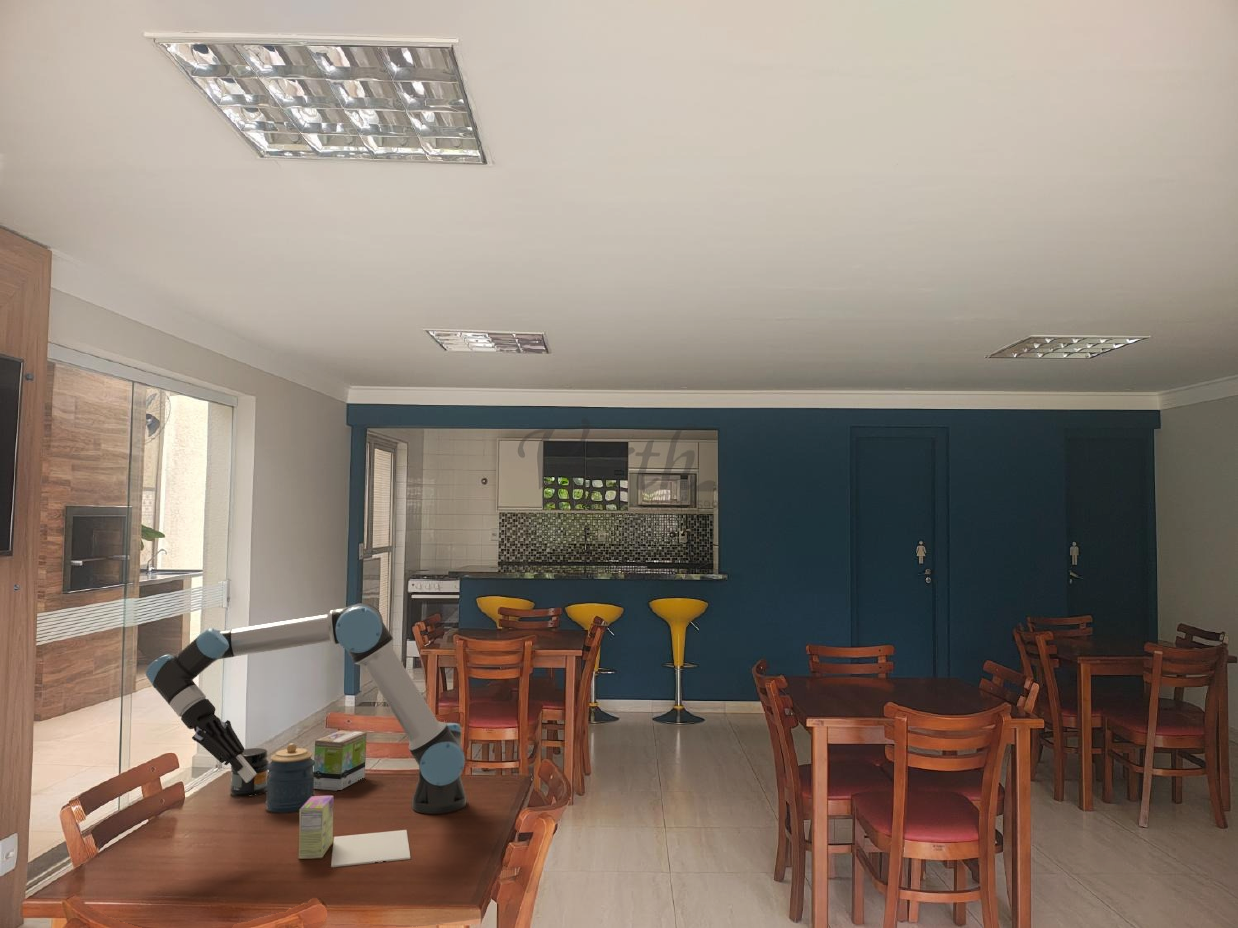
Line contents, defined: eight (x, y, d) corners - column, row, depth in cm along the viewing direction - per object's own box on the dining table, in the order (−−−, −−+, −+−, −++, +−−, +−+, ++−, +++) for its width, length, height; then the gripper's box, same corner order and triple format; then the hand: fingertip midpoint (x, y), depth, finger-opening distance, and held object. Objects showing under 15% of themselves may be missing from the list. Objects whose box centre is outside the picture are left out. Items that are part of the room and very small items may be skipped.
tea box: (341, 791, 257) (343, 741, 259) (311, 789, 259) (313, 739, 261) (366, 777, 272) (367, 730, 273) (337, 775, 274) (338, 729, 275)
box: (309, 843, 213) (311, 795, 214) (332, 843, 214) (334, 794, 215) (297, 859, 203) (299, 808, 204) (322, 858, 203) (323, 807, 204)
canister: (323, 804, 245) (325, 741, 246) (284, 816, 234) (286, 751, 235) (294, 796, 252) (296, 735, 253) (255, 808, 241) (257, 744, 242)
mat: (406, 831, 222) (406, 829, 222) (410, 858, 203) (410, 857, 203) (334, 838, 217) (334, 836, 217) (331, 867, 198) (331, 865, 198)
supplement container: (275, 789, 259) (276, 749, 260) (247, 799, 249) (249, 757, 250) (250, 785, 263) (251, 746, 264) (221, 795, 254) (223, 753, 255)
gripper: (199, 712, 222) (256, 781, 218) (166, 723, 209) (225, 796, 206) (219, 692, 222) (276, 760, 218) (186, 702, 209) (246, 774, 205)
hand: (251, 778), depth 212 cm, fingers closed
